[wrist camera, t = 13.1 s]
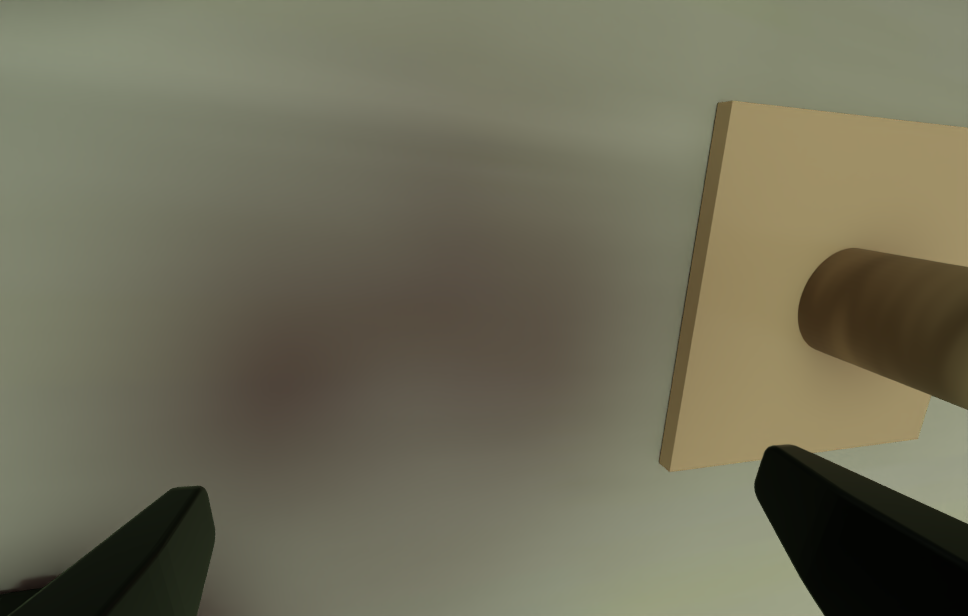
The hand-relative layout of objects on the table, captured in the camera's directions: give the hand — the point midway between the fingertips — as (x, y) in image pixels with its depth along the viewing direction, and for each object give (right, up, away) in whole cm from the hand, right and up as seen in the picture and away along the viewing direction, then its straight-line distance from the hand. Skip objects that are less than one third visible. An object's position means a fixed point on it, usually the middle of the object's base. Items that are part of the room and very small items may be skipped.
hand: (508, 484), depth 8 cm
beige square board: (+16, +3, +16) cm, 23 cm away
